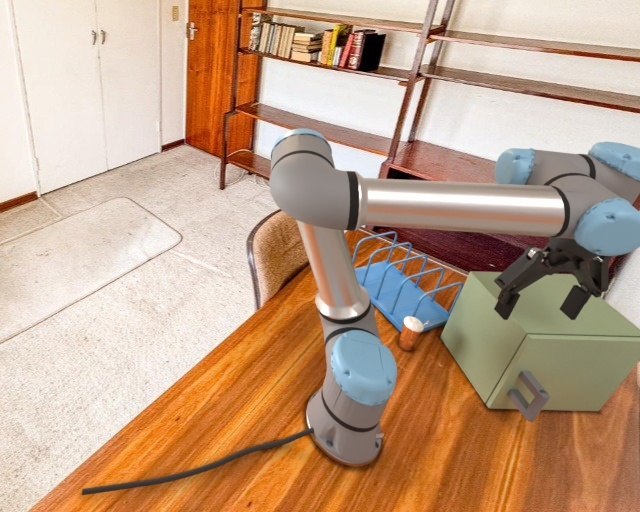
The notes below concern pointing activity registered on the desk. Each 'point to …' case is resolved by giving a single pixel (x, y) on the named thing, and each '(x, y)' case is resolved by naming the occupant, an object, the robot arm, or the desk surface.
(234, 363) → the desk surface
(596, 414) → the desk surface
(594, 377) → the door
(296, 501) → the desk surface
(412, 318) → the milkshake
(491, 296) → the cupboard
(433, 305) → the file sorter
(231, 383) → the desk surface
